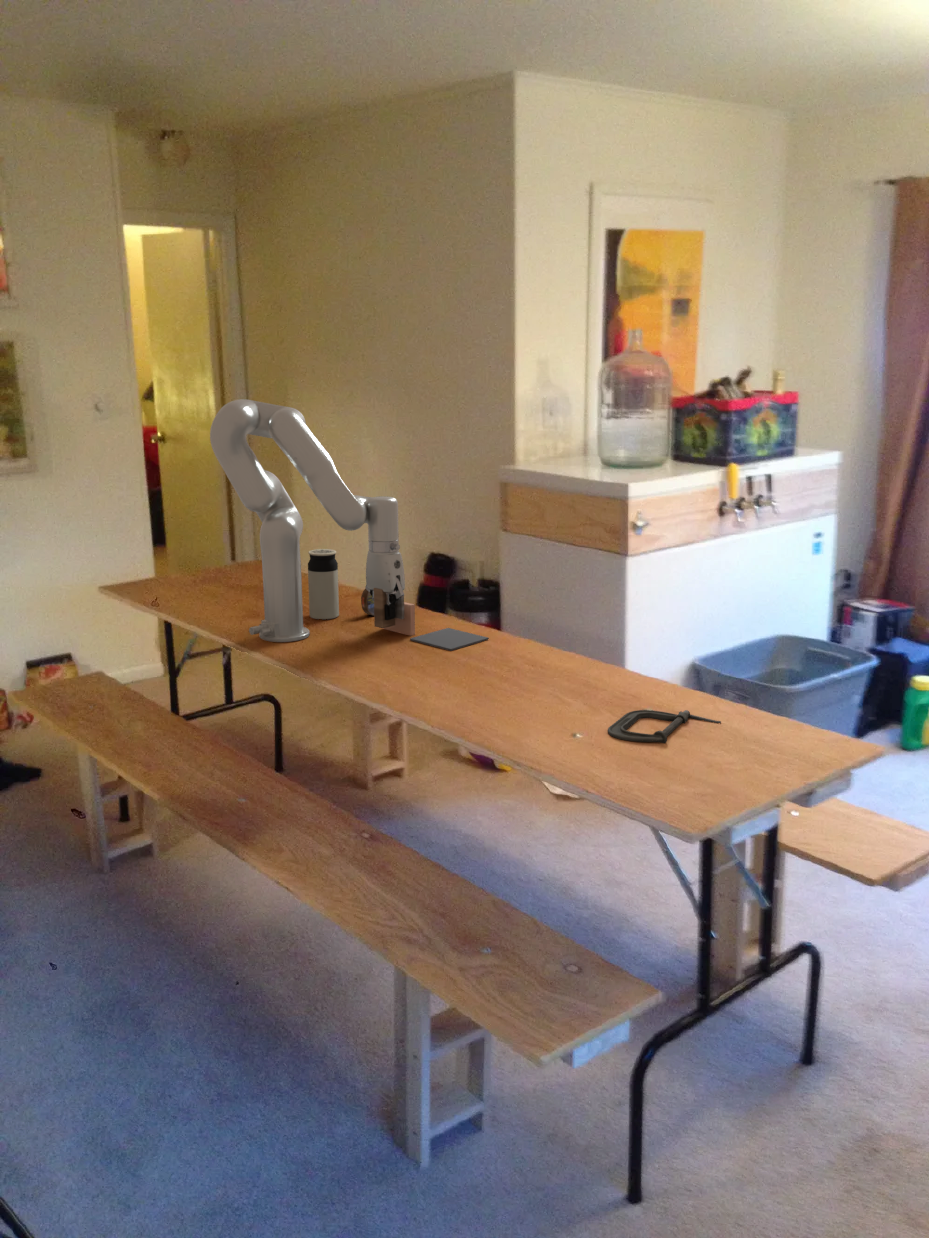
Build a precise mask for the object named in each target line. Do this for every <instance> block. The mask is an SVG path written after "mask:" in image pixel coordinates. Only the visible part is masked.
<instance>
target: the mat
mask: <svg viewBox="0 0 929 1238" xmlns="http://www.w3.org/2000/svg"><path fill="white" fill-rule="evenodd" d="M488 639H489V640H490V637H487V636H483V635H480V634H475V633H470V632H467V631H463V630H458V629H456V628H455V629H454V628H451V627H446V628H443V629H439V630H436V631H431V632H428V633H425V634H421V635H418V636H413V637H411V638H409V641H412V642H416V643H420V644H422V645H426V646H431V647H435V648H437V649H438V648H439V649H441V650H446V651H450V652H452V651H453V652H454V651H455V650H459V649H462V648H466V647H469V646H472V645H475V644H479V643H481V642H482V641H483V642H486V641H489V640H488ZM485 640H486V641H485Z"/></svg>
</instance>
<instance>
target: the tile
mask: <svg viewBox="0 0 929 1238" xmlns="http://www.w3.org/2000/svg"><path fill="white" fill-rule="evenodd" d="M415 610H416V606H415V604H414V603H410V602H405V601H404V619H399V618H395V625H394V626H390V627H386V628H383V629H384V630H387V631H390V632H394V633H399V634H402V635H407V636H410V637H412V636H415V635H416V612H415Z"/></svg>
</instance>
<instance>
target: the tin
mask: <svg viewBox="0 0 929 1238" xmlns="http://www.w3.org/2000/svg"><path fill="white" fill-rule="evenodd" d="M360 602H361V608H362V611H363V613H364V614H366V615H368V616H374V602H373V600H372V596H371V594H370V592H368V591H367V590H366V588H364V589H363V592H362V593H361V596H360Z"/></svg>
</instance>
